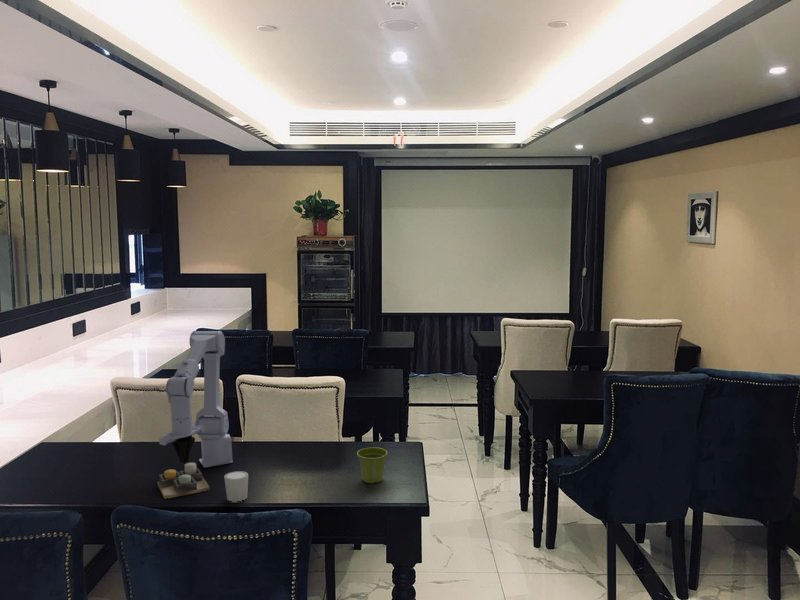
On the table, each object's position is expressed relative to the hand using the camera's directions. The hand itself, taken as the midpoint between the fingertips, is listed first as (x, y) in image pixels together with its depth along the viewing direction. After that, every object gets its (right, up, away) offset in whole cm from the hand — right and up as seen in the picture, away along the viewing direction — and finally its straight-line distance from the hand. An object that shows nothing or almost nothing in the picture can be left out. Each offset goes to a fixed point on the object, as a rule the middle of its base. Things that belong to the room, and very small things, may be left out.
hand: (183, 461), depth 204 cm
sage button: (0, -7, +1) cm, 8 cm away
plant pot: (+55, -8, +8) cm, 56 cm away
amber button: (-6, -7, +5) cm, 10 cm away
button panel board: (-1, -9, +4) cm, 9 cm away
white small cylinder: (0, -6, +8) cm, 10 cm away
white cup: (+17, -10, -5) cm, 20 cm away
